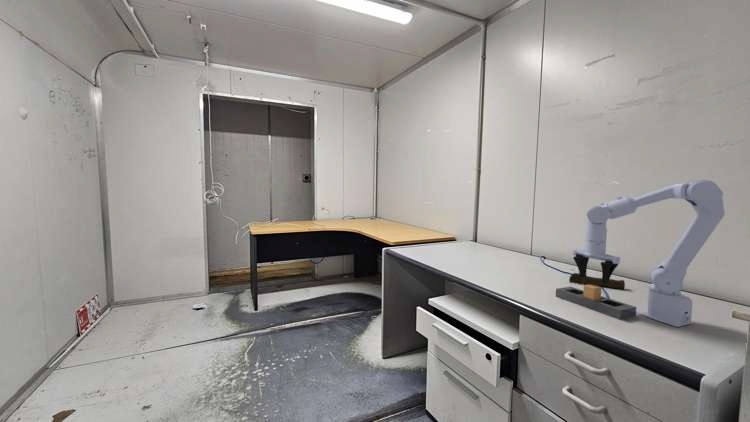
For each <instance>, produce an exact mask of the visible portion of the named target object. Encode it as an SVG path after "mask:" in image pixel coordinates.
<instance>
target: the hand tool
mask: <svg viewBox="0 0 750 422" xmlns="http://www.w3.org/2000/svg"><path fill="white" fill-rule="evenodd" d="M568 282H570V283H573V284H576V283H578V285H582V284H584V285H589V284H592V285H595V286H599V287H607V288H612V289H620V290H622V291H625V289H626V288H625V287H626V285H625V284H626V282H625V280H623V279H621V280H620V279H619V280H617V279H612V278H610V279H609V282H608V283H603V282H602V277H593V276H590V275H589V276H588V275H587V274H586V276H585V277H580V273H579V272H573V273H571V275H570V276H569V281H568ZM584 285H583V286H584Z"/></svg>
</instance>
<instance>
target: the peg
mask: <svg viewBox="0 0 750 422" xmlns="http://www.w3.org/2000/svg"><path fill="white" fill-rule="evenodd" d="M583 291H584V293H583V297H586V298H589V299H592V300H601V296H602V286H598V285H592V284H586V285H583Z"/></svg>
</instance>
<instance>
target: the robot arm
mask: <svg viewBox="0 0 750 422" xmlns="http://www.w3.org/2000/svg"><path fill="white" fill-rule="evenodd" d="M723 195H724V192H723V190H722V189H721V188H720V187H719V186H718V185H717V183H716V182H713V181H712V180H708V179H699V180H691V181H687V182H684V183H678V184H672V185H669V186H666V187H662V188H660V189H657V190H654V191H651V192H648V193H645V194H642V195H639V196H637V197H633V198H632V197H629V196H624V197H622V196H618V197H616V199H614V200H612V201H608V202H605V203H604V202H601V203H599V204H600V206H599V205H598V206H592V207H590V208H589V209H588V211H587V213H586V217H587V219H588V220H587V222H586V225H587V226H586V228H585V229H586V231H585V233H586V234H585V250H582V249H578V248H577V249H573V250H572V255H573V258H572V259H573V260H574V262H575V264H576V267H577V270H578V273H579V274H580V277H585V276H586V275H587V270H588V269H587V268H588V263H589V259H594V260H598V261H602V262H600V266H601V272H602V273H601V275H602V277H601V278H602V282H603V283H608V282H609V279H611V276H612V274H613V273H614V271H615V270H616V269H617V267H618V266H619V264H620V263H621V257H619V256H614V255H611V254H607V253H606V251H607V232H608V228H607V221H608V220H609V219H610V220H615V219H618V218H621V217H624V216H627V215H631V214H635V213H636V211H637V209H638V208H640V207H643V206H647V205H651V204H654V203H658V202H661V201H665V200H669V199H676V200H677V199H678V200H679V199H680V200H685V201H686V202H687V203H689V204H690V205H691V207H692V208H693V210H694V211H695V213H696V215H695V216H694V218H693V220H692V221H691V222H690V224H689V225H688V227H687V229H686V230H685V231H684V233H683V234H682V236H681V237H680V239H679V240H678V242H677V243H675V246H674V248H673V249H672V250H671V252H670V253H669V254H668V256H667V258H666V259H664V260H663V261H662V262H661V263H660V264H659V265H658V266H657V267H655V268H653V269H652V270H651V271H650V272H649V278H650V281H651V282H652V284H651V285H650V286H648V295H647V296H648V300H647V311H646V312H642V313H640V316H641V317H642V316H643V317H646V318H648V319H652V320H655V321H658V322H661V323H665V324H666V325H671V326H673V327H677V328H679V327H683V326H687V325H691V324H693V321H692V313H693V300H692V298H691V297H689V296H685V295H684V294H682V291H681V290H682V289H683V284H684V282H683V281H684V279H685V277H686V276H687V270H688V267H689V266H690V264H691V263H692V262H693V260H694V259H695V257H696V256H697V254H698V253H699V252H700V250H701V249H702V247H703V246H704V245H705V244H706V242H707V241H708V239H709V238H710V236H711V235H712V234H713V232H714V231H715V229H716V228H717V227H718V225H719V224H720V222H721V221H722V220H723V218H724V217H725V215H726V214H725V206H724V201H723Z"/></svg>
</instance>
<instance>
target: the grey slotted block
mask: <svg viewBox="0 0 750 422" xmlns="http://www.w3.org/2000/svg"><path fill="white" fill-rule="evenodd" d="M583 293H584V289H583V290H582V289H580V288H576V287H575V286H574V287H573V286H565V287H560V288H555V297H556V298H558V299H561V300H564V301H567V302H570V303H572V304H575V305H578V306H582V307H584V308H586V309H589V310H592V311H594V312H597V313H601V314H603V315H606V316H609V317H612V318H614V319H617V320H625V319H629V318H634V317H636V316H637V306H634V305H632V304H631V305H630V304H628V303H625V302H621V301H618V300H615V299H612V298H608V297H606V296H602V295H601V300H592V299H589V298H586V297H583Z"/></svg>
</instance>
